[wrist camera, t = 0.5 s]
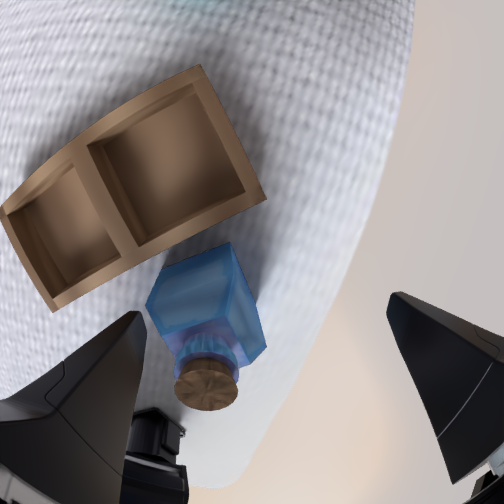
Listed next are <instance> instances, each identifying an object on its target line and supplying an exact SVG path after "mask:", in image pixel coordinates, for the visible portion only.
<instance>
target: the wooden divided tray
mask: <svg viewBox="0 0 504 504" xmlns="http://www.w3.org/2000/svg"><path fill="white" fill-rule="evenodd" d="M265 200H267V198H266V196H265V194H264V192H263V190H262V188H261V185H260V183H259V181H258V179H257V177H256V175H255V173H254V170H253V168H252V166H251V164H250V162H249V160H248V158H247V156H246V154H245V152H244V150H243V147H242V145H241V143H240V141H239V139H238V137H237V135H236V133H235V131H234V129H233V127H232V125H231V123H230V121H229V119H228V117H227V115H226V113H225V111H224V109H223V107H222V105H221V103H220V101H219V99H218V97H217V95H216V93H215V91H214V89H213V87H212V85H211V84H210V82H209V80H208V78H207V76H206V74H205V72H204V70H203V68H202V66H201V64H199V65H196V66H194V67H192V68H190V69H188V70H185V71H183V72H181V73H179V74H177V75H175V76H173V77H171V78H169V79H167V80H165V81H163V82H161V83H159V84H158V85H156V86H154V87H152V88H150V89H148V90H147V91H145V92H143V93H141V94H140V95H138V96H136V97H134V98H133V99H131V100H129V101H128V102H126V103H125V104H123V105H121V106H120V107H118V108H117V109H115V110H113V111H112V112H110V113H109V114H107V115H106V116H104V117H103V118H101V119H100V120H99V121H97V122H96V123H94V124H93V125H91V126H90V127H89V128H87V129H86V130H85V131H83V132H82V133H81V134H79V135H78V136H77V137H75V138H74V139H73V140H71V141H70V142H69V143H68V144H66V145H65V146H64V147H63V148H61V149H60V150H59V151H58V152H57V153H55V154H54V155H53V156H52V157H51V158H49V159H48V160H47V161H46V162H45V163H44V164H43V165H42V166H40V167H39V168H38V169H37V170H36V171H35V172H34V173H33V174H32V175H31V176H30V177H29V178H28V179H27V180H26V181H24V182H23V183H22V184H21V185H20V186H19V187H18V188H17V189H16V191H15V192H14V193H13V194H12V195H11V196H10V197H9V198H8V199H7V200H6V201H5V202H4V203H3V204H2V205H1V207H0V220H1V223H2V225H3V227H4V229H5V231H6V233H7V236H8V238H9V240H10V242H11V244H12V246H13V248H14V250H15V252H16V254H17V255H18V257H19V259H20V261H21V263H22V265H23V266H24V268H25V270H26V272H27V273H28V275H29V277H30V279H31V280H32V282H33V284H34V285H35V287H36V288H37V290H38V292H39V293H40V295H41V296H42V298H43V299H44V301H45V303H46V304H47V306H48V307H49V308H50V310H51V311H52V313H54V312H55V311H57V310H59V309H60V308H62V307H64V306H65V305H67V304H69V303H70V302H72V301H74V300H76V299H77V298H79V297H81V296H83V295H84V294H86V293H88V292H89V291H91V290H93V289H95V288H96V287H98V286H100V285H102V284H104V283H105V282H107V281H109V280H111V279H112V278H114V277H116V276H118V275H120V274H122V273H123V272H125V271H127V270H129V269H131V268H132V267H134V266H136V265H138V264H140V263H142V262H144V261H145V260H147V259H149V258H151V257H153V256H155V255H157V254H159V253H160V252H162V251H164V250H166V249H168V248H170V247H172V246H174V245H176V244H178V243H180V242H182V241H183V240H185V239H187V238H189V237H191V236H193V235H195V234H197V233H199V232H201V231H203V230H205V229H207V228H209V227H211V226H213V225H215V224H217V223H219V222H221V221H223V220H225V219H227V218H229V217H231V216H233V215H235V214H237V213H240V212H242V211H244V210H246V209H248V208H250V207H252V206H254V205H256V204H258V203H260V202H262V201H265Z"/></svg>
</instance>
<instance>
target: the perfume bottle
mask: <svg viewBox="0 0 504 504" xmlns="http://www.w3.org/2000/svg"><path fill="white" fill-rule="evenodd" d="M145 307H146V309H147V311H148V312H149V314H150V316H151V318H152V320H153V322H154V324H155V326H156V328H157V330H158V331H159V333H160V335H161V337H162V338H163V340H164V341H165V343H166V345H167V346H168V348H169V349H170V351H171V352H172V354H173V355H174V357H175V358H176V361H175V367H174V377H175V379H176V381H177V382H176V384H175V386H174V387H175V394H176V396H177V397H178V399H179V400H180V401H181V402H182V403H183V404H185V405H187V406H189V407H191V408H193V409H197V410H201V411H214V410H220V409H222V408H225V407H227V406H229V405H230V404H231V403H233V402H234V400H235V399H236V397H237V394H238V388H237V386H236V383H237V382H238V378H239V369H238V368H241V367H244V366H247V365H250V364H251V363H252V362H253V361H254V360H255V359H256V358H257V357H258V356H259V355H260V354H261V353H262V352H263V351H264V349H265V348H266V347H267V346H266V342H265V338H264V334H263V331H262V327H261V323H260V319H259V315H258V311H257V307H256V304H255V302H254V299H253V297H252V294H251V292H250V290H249V287H248V285H247V282H246V280H245V278H244V275H243V273H242V270H241V268H240V266H239V263H238V261H237V258H236V256H235V253H234V251H233V249H232V246H231V244H230V242H229V243H227V244H224V245H222V246H219V247H217V248H214V249H211V250H209V251H206V252H204V253H201V254H199V255H196V256H194V257H191V258H189V259H186V260H183V261H181V262H178V263H176V264H173V265H171V266H168V267H166V268H163V269H161V271H160V273H159V276H158V278H157V280H156V282H155V284H154V286H153V288H152V291H151V293H150V295H149V297H148V300H147V302H146V304H145Z"/></svg>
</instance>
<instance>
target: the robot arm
mask: <svg viewBox="0 0 504 504" xmlns="http://www.w3.org/2000/svg"><path fill="white" fill-rule="evenodd" d="M386 315H387V318H388V321H389V324H390V326H391V329H392V332H393V334H394V337H395V340H396V343H397V345H398V348H399V350H400V353H401V355H402V357H403V359H404V361H405V363H406V365H407V367H408V370H409V372H410V374H411V376H412V378H413V381H414V383H415V385H416V388H417V390H418V392H419V395H420V397H421V399H422V402H423V404H424V406H425V409H426V411H427V414H428V416H429V419H430V422H431V424H432V427H433V429H434V432H435V435H436V437H437V440H438V443H439V446H440V449H441V452H442V455H443V457H444V461H445V463H446V466H447V470H448V473H449V476H450V479H451V482H452V484H455V483H457V482H459V481H460V480H462V479H463V478H465V477H467V476H468V475H470V474H471V473H473V472H474V471H476V470H477V469H479V468H480V467H482V466H483V465H485V463H488V465H489V467H490V469H491V470H490V471H489V472H487V473H486V474H485V475H483V476H482V477H480V478H479V479H478V480H477V481H476V484H475V487H474V490H473V492H472V495H471V498H470V499H469V500H467V501H466V502H464V503H463V504H504V337H502V336H499V335H497V334H494V333H492V332H490V331H488V330H485V329H483V328H481V327H479V326H476V325H473V324H472V323H470V322H468V321H466V320H464V319H461V318H459V317H457V316H455V315H453V314H451V313H448V312H446V311H444V310H442V309H439V308H437V307H435V306H433V305H431V304H428V303H426V302H424V301H422V300H420V299H417V298H415V297H413V296H411V295H408V294H406V293H404V292H401V291H400V292H394V293H392V294H391V295H390V299H389V303H388V307H387V311H386ZM146 339H147V330H146V326H145V323H144V320H143V316H142V314H141V312H140V311H129V312H127V313H126V314H124V315H123V316H122V317H120V318H119V319H118V320H116V321H115V322H114V323H112V324H111V325H109V326H108V327H107V328H105V329H104V330H103V331H101V332H100V333H99V334H97V335H96V336H95V337H93V338H92V339H91V340H89V341H88V342H87V343H85V344H84V345H83V346H81V347H80V348H79V349H77V350H76V351H75V352H73V353H72V354H71V355H70V356H68V357H67V358H66V359H64V361H62V362H60V363H59V364H58V365H56V366H55V367H54V368H52V369H51V370H50V371H48V372H47V373H46V374H44V375H43V376H41V377H40V378H38V379H37V380H35V381H34V382H32V383H31V384H29V385H27V386H26V387H24V388H23V389H21V390H20V391H18V392H17V393H15V394H14V395H12V396H10V397H9V398H6V399H3V400H0V504H188V499H189V486H188V479H187V471H186V466H184V465H177V464H176V455H178V454H179V444H180V438H183V437H185V432H183V431H182V430H181V429H180V428H179V427H178V426H177V425H175V424H174V423H173V422H172V421H171V420H170V419H169V418H168V417H167V416H165V415H164V414H163V413H162V412H161V411H160V410H159V409H158V408H151V409H147V410H143V411H139V412H135V413H133V411H134V406H135V402H136V397H137V392H138V388H139V384H140V379H141V375H142V370H143V362H144V354H145V346H146Z"/></svg>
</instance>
